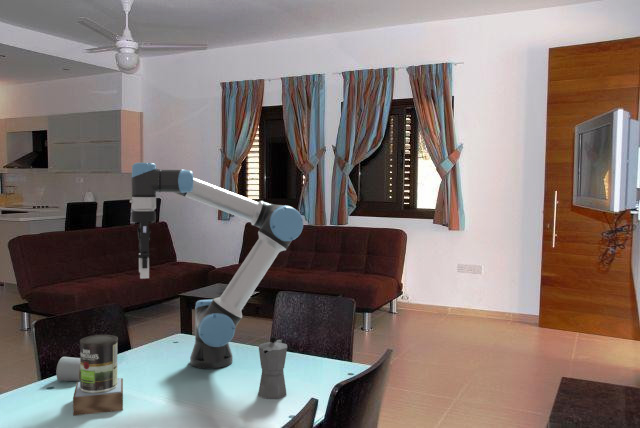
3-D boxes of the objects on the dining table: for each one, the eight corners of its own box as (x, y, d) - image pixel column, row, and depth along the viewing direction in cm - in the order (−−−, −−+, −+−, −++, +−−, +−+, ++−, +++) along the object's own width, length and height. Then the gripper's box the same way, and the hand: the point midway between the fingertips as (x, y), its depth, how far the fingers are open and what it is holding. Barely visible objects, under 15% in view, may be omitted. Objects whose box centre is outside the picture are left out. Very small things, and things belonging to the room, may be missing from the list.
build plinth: (122, 394, 172) (122, 377, 172) (122, 410, 160) (122, 391, 160) (76, 399, 168) (76, 381, 168) (73, 415, 156) (73, 396, 156)
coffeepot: (278, 403, 167) (279, 343, 166) (249, 399, 170) (250, 340, 169) (296, 386, 182) (297, 331, 181) (269, 382, 185) (270, 328, 184)
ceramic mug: (81, 384, 181) (81, 360, 181) (55, 384, 180) (55, 360, 180) (93, 374, 191) (93, 351, 191) (69, 373, 191) (69, 351, 191)
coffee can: (100, 395, 157) (100, 345, 156) (71, 390, 161) (71, 341, 160) (125, 383, 166) (125, 336, 166) (98, 379, 170) (98, 333, 170)
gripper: (131, 208, 194) (131, 270, 195) (132, 211, 170) (132, 281, 171) (153, 208, 196) (153, 269, 197) (158, 211, 173) (158, 280, 174)
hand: (143, 275), depth 184 cm, fingers open, 13 cm apart
